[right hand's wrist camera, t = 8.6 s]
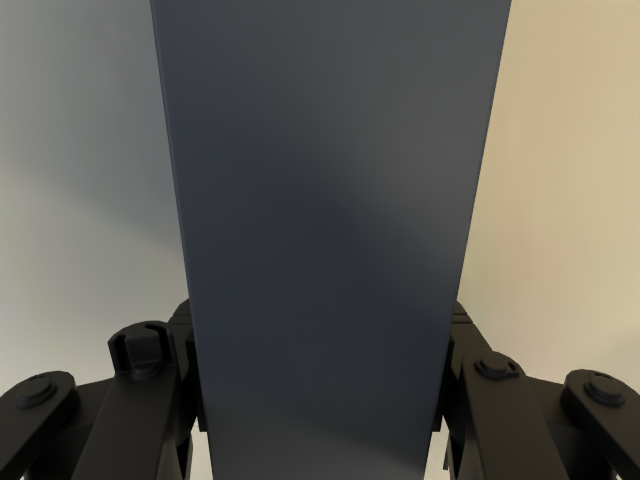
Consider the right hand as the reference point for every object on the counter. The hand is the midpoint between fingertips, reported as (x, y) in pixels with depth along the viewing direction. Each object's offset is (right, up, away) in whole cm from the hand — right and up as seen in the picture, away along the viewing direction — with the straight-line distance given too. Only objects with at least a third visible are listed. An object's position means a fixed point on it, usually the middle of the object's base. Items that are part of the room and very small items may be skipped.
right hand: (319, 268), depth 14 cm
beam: (0, +21, -8) cm, 23 cm away
